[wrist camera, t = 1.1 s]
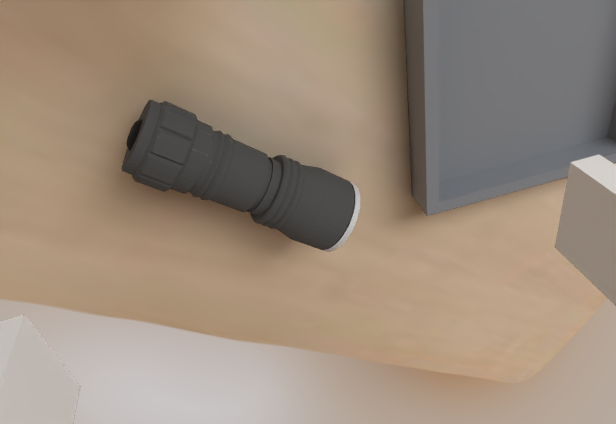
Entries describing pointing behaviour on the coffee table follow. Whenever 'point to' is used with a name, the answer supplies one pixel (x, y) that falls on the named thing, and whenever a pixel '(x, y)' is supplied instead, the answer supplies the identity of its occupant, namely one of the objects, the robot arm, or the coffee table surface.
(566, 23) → the box
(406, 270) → the coffee table surface
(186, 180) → the flashlight
